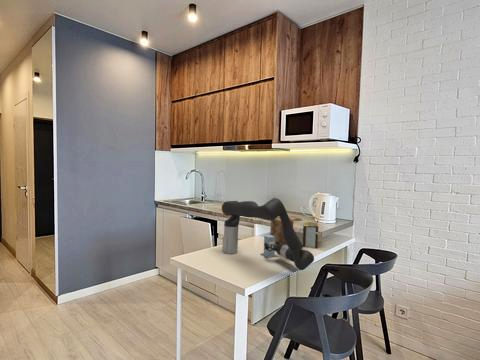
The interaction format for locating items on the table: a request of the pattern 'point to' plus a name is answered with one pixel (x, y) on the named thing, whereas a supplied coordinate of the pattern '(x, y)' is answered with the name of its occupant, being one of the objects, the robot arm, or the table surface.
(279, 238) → the shelf
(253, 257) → the table surface
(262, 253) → the mat
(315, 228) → the protein box
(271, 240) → the carton
